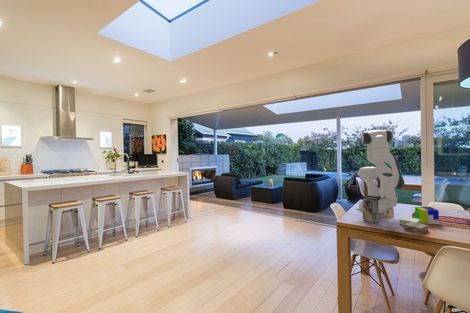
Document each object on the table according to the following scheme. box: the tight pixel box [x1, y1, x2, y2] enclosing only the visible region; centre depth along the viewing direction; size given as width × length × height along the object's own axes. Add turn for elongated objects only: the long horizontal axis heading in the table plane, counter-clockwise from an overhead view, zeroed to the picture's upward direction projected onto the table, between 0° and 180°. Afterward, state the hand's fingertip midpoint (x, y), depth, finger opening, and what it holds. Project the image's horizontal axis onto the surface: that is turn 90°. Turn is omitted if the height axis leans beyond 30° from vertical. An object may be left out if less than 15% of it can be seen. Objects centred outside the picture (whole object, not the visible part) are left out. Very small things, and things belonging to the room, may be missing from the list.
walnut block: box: [403, 222, 429, 235], centre depth 158 cm, size 10×10×4 cm
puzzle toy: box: [414, 206, 440, 225], centre depth 174 cm, size 10×10×10 cm
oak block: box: [381, 207, 395, 220], centre depth 171 cm, size 5×5×7 cm
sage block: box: [399, 216, 421, 226], centre depth 170 cm, size 10×10×4 cm
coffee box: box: [362, 198, 379, 224], centre depth 181 cm, size 9×6×16 cm
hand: (388, 214), depth 171 cm, fingers closed on oak block, 5 cm apart
